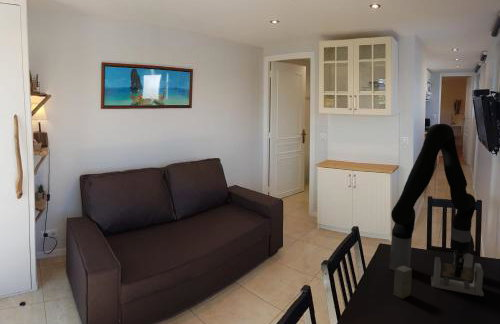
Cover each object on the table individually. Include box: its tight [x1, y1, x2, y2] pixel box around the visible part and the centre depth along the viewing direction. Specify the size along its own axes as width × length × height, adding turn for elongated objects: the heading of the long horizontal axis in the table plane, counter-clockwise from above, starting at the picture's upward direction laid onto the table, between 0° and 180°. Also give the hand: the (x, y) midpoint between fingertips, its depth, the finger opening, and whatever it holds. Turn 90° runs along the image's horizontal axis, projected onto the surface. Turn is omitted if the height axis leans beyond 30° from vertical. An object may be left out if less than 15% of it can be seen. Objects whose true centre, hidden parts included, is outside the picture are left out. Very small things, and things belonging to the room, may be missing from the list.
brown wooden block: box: [441, 262, 475, 282], centre depth 160 cm, size 12×5×4 cm, turn 65°
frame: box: [430, 256, 485, 297], centre depth 161 cm, size 20×9×11 cm, turn 65°
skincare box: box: [393, 265, 413, 299], centre depth 154 cm, size 6×4×12 cm
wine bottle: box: [463, 234, 475, 268], centre depth 172 cm, size 8×8×30 cm
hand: (457, 274), depth 161 cm, fingers closed on brown wooden block, 5 cm apart
